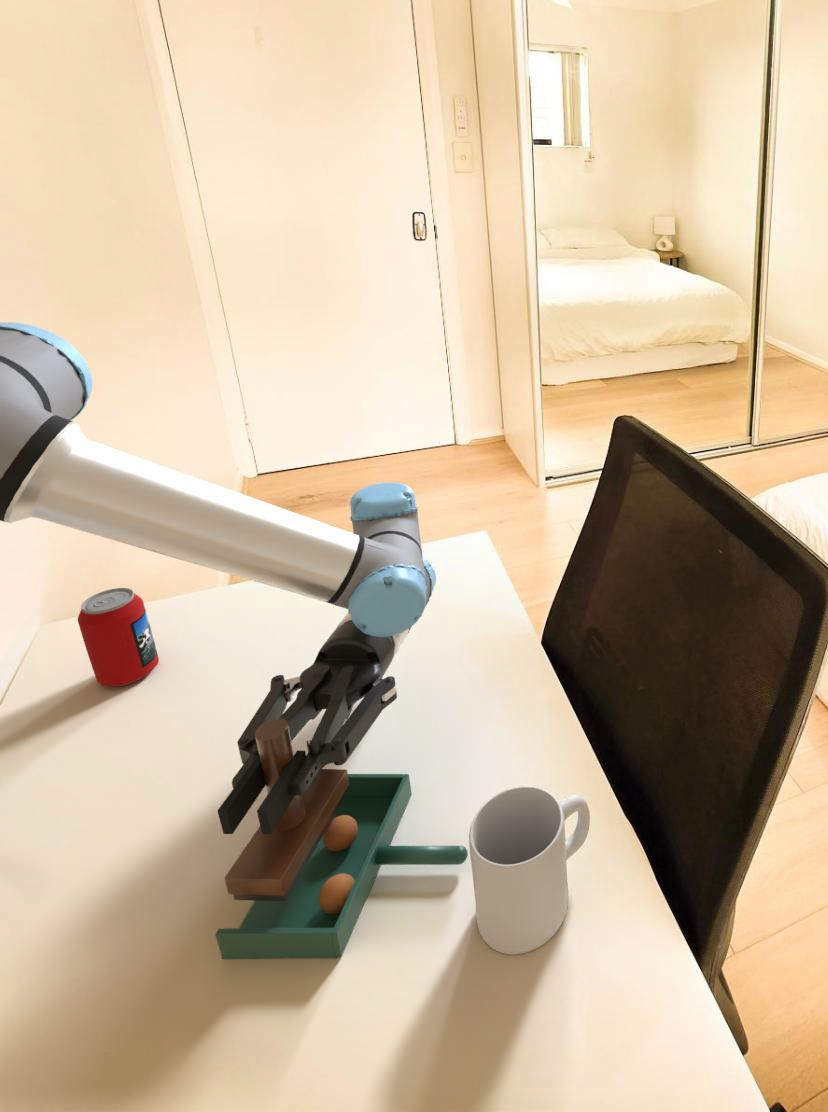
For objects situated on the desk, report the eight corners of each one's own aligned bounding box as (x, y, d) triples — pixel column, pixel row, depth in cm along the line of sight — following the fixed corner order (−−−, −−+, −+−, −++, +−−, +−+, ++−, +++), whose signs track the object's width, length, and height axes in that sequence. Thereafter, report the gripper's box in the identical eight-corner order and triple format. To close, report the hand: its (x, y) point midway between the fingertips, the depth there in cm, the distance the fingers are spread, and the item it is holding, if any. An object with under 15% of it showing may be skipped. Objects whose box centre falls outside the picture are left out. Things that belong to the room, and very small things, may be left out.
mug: (507, 978, 60) (499, 888, 57) (460, 907, 66) (450, 822, 62) (614, 885, 69) (613, 801, 65) (564, 829, 74) (561, 750, 70)
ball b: (313, 851, 70) (318, 833, 69) (332, 822, 73) (337, 804, 72) (343, 862, 70) (348, 844, 69) (361, 832, 73) (366, 814, 72)
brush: (230, 902, 62) (198, 783, 57) (303, 789, 73) (282, 682, 68) (286, 904, 62) (258, 784, 57) (350, 791, 73) (332, 684, 69)
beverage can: (169, 669, 95) (149, 595, 91) (109, 698, 90) (85, 621, 86) (147, 651, 99) (127, 579, 95) (89, 678, 93) (65, 603, 89)
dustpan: (222, 959, 61) (214, 934, 60) (317, 795, 77) (313, 773, 76) (441, 957, 62) (437, 932, 61) (490, 795, 78) (488, 773, 77)
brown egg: (321, 888, 63) (349, 909, 63) (343, 859, 66) (369, 879, 66) (304, 908, 64) (332, 929, 64) (327, 879, 67) (353, 898, 67)
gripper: (433, 672, 83) (342, 854, 61) (301, 670, 82) (160, 854, 60) (427, 619, 80) (330, 789, 58) (291, 617, 80) (141, 789, 58)
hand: (244, 822), depth 59 cm, fingers closed on brush, 3 cm apart
